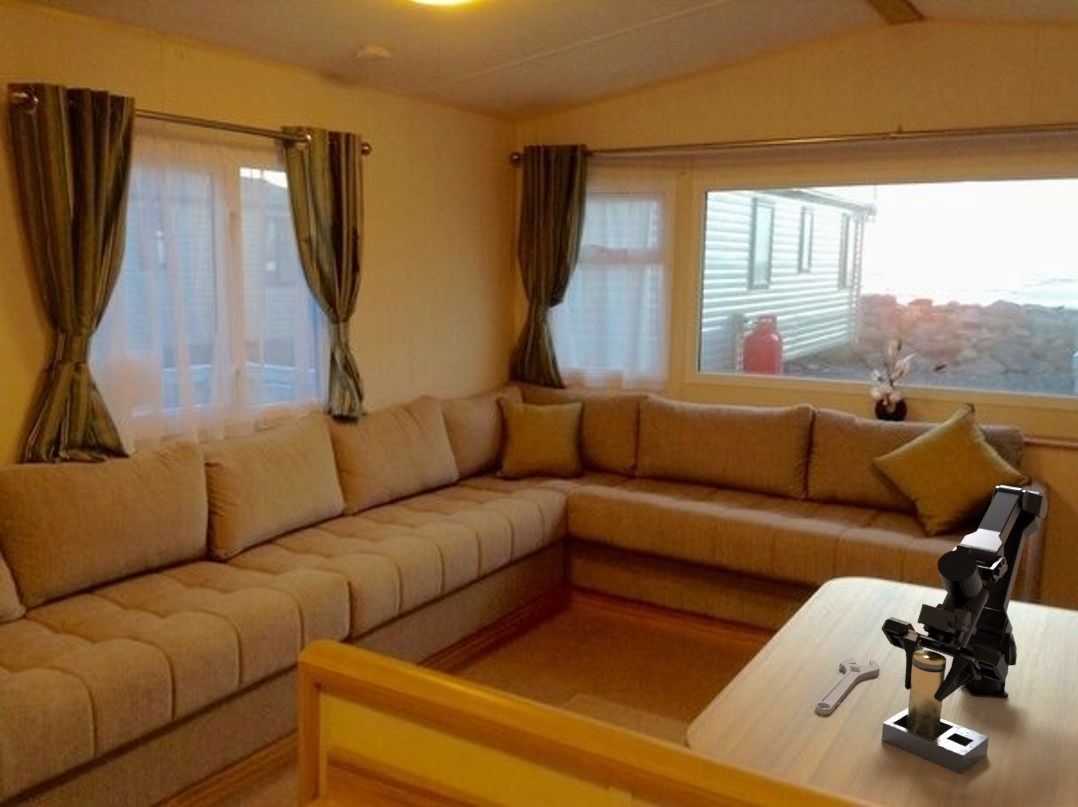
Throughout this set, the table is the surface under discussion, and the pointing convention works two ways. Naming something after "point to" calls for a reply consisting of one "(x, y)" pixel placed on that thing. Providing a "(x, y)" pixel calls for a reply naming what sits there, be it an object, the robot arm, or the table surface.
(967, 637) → the robot arm
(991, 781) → the table surface
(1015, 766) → the table surface
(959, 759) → the grey rectangular holder
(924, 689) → the gold tin can
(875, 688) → the table surface
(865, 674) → the adjustable wrench
